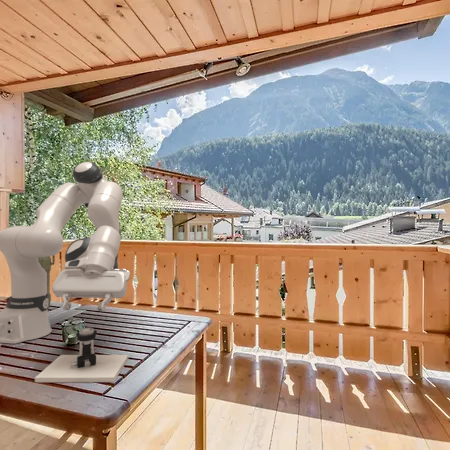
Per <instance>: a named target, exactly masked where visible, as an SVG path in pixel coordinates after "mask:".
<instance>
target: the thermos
mask: <svg viewBox="0 0 450 450" xmlns="http://www.w3.org/2000/svg"><path fill="white" fill-rule="evenodd" d="M55 257H56V255H54V256H52V257H51V256H49V257H43V258H40V257H37V258H38V261H39V263H40V265H41V266H42V268H43V269H44V270H45V271H46V273H47V293H48V309H50V308H51V301H52V294H51V293H50V287H51V286H50V285H51V282H50V280H51V279H50V277H51V275H50V272H51V270H52V266H53V265H55V261H56V260H55V259H56V258H55Z"/></svg>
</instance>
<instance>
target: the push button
mask: <svg viewBox="0 0 450 450" xmlns="http://www.w3.org/2000/svg"><path fill="white" fill-rule="evenodd" d="M97 334H98V331H97V330H95V328H94V327H90V326H88V327H82V328H80V329H79V331H78V332H77V333H75V336H76V340H77V341H78V342H79V353H78V354H77V355H78V356H77V361H75V362H73V363H77V364H75V365H71V367H73V366H78V368H81V367H88V366H91V365H93V366H94V365H96V355H97V354H95V353H96V352H95V351H94V340H95V339H96V337H97ZM71 364H72V362H71Z"/></svg>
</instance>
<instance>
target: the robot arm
mask: <svg viewBox="0 0 450 450" xmlns="http://www.w3.org/2000/svg"><path fill="white" fill-rule="evenodd" d="M72 176H73V178H74V181H75V182H76V183H74V182H70V181H69V182H65V183H62V185H60V186H59V187H57V188H56V189H54V191H53V192H52V193H51V194H50V195H49V196H48V197H47V198H46V199H45V200H44V201H43V202H42V203H41V204H40V206H38V208H36V211H35V213H36V214H35V215H36V220H35V222H34V223H33V224H31V225H14V226H10V227H7V228H3V229H2V230H0V252H1V253H2V254H3V256H4V258H5V260H6V262H7V266H8V268H9V274H10V283H11V284H10V285H11V286H10V291H11V296H9V297H7V298H6V299H3V300H2V301H4V302H3V304H6V305H5V307H4V308H3V309H1V310H0V343H2V344H3V343H4V344H19V343H23V342H25V341H30V340H31V341H32V340H36V339H39V338H43V337H45V336H47V335H49V334H51V333H52V332H53V330H52V326H51V322H50V317H49V310H48V309H49V308H48V293H47V273H46V271H45V270H44V269H43V268H42V266H41V265H40V263H39V261H38V258H37V257H40V258H43V257H49V256H50V257H53V256H54V255H55V256H56V255H58V254H59V253H60V252H61V250H63V246H64V237H63V235H62V230H63V229H64V227H65V225H66V224H67V223H68V221H70V219H71V217H73V215H74V213H75V212H76V211H77V210H78V208H80V207H81V206H83V205H84V207H85V208H86V209H87V217H88V219H89V221H90V223H92V225H93V226H94V227H95V229H96V230H95V232H94V233H93V234H91V235H90V236H89V237H84V238H79V239H76V240H73V241H72V242H71V243H70V244H69V246H68V247H67V249H66V250H65V256H64V261H65V264H64V269H63V270H61V271H60V272H59V274H58V275H57V276H56V279H55V281H54V283H53V285H52V289H51V290H52V292H53V294H54V295H55V297H57V298H62V299H63V300H62V301H63V304H62V310H63V311H70V310H71V307H72V303H71V302H70V300H71V298H74V299H75V298H76V299H77V298H79V299H80V298H84V299H86V298H87V299H88V298H89V299H90V298H92V299H103V300H102V301H101V302H99V301H98V303H97V304H98V305H97V310H98V311H99V312H101V311H102V312H105V309H106V306H108V305H109V304H110V303H111V301H112V299H123V298H124V297H126V295H127V289H128V282H129V280H130V278H131V271H129V270H127V269H126V268H119V264H118V258H119V250H120V246H121V239H122V238H121V234H122V233H121V232H122V230H121V226H120V220H119V219H120V217H119V216H120V215H119V213H120V210H121V209H120V208H121V206H122V202H123V200H122V199H123V190H122V186H120V185H119V184H118V183H116V182H114V181H111V180H109V181H108V180H107V179H106V177H105V175H104V174H103V172H102V169H101V168H100V167H99V166H98V165H97V163H96V162H93V161H90V160H89V161H83V162H80V163H78V164H77V165H75V166H74V167H73V169H72Z"/></svg>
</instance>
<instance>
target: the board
mask: <svg viewBox="0 0 450 450" xmlns="http://www.w3.org/2000/svg"><path fill="white" fill-rule="evenodd" d="M95 355H96V365H94V366H93V365H91V366H88V367H81V368H78V366H73V367H71V365H75V364H77V363H73V362H75V361H77V356H78V354H61V355H59V356H58V357H57V358H56V359H54V361H52V362H51V363H50V364H48V366H46V367H45V368H44V369H43V370H41V372H39V374H38V375H36V376H35V377H34V383H115V381H116V380H117V378H118V376H119V375H120V373H121V372H122V370H123V369H124V367H125V365H126V363H127V361H128V360H129V354H95ZM71 362H72V364H71Z"/></svg>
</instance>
